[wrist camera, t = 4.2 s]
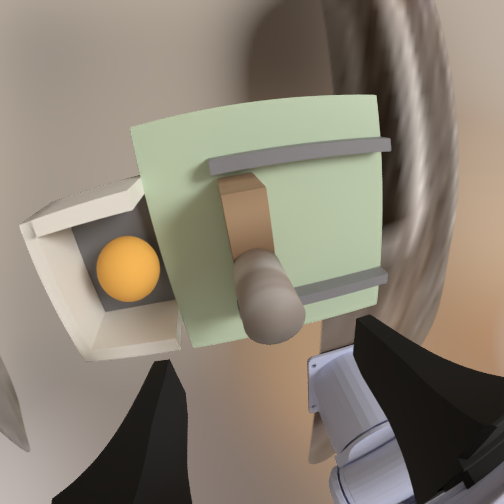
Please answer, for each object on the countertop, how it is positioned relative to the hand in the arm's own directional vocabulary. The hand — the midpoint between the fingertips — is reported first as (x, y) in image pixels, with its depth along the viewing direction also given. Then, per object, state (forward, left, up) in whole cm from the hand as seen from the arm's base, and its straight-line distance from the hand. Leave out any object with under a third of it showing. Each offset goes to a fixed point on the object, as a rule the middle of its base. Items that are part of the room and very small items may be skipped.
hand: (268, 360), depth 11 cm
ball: (+1, +7, -8) cm, 11 cm away
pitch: (+1, +1, -10) cm, 10 cm away
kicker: (+1, -1, -9) cm, 9 cm away
